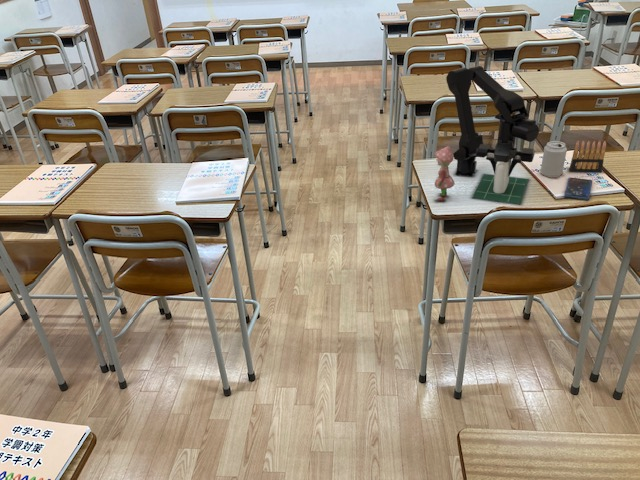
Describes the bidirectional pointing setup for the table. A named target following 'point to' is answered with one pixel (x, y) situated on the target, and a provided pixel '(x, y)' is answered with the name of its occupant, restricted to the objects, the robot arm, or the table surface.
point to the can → (553, 159)
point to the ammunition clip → (588, 158)
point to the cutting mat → (510, 195)
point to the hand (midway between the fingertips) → (502, 175)
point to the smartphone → (578, 188)
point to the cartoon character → (444, 171)
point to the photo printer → (501, 176)
